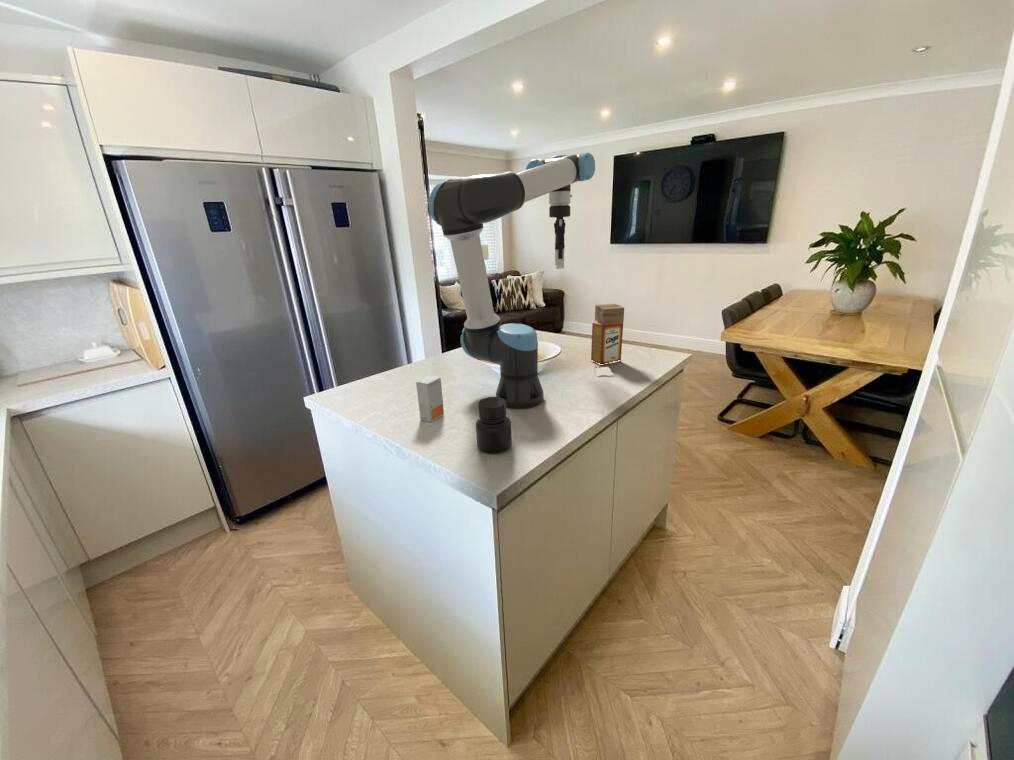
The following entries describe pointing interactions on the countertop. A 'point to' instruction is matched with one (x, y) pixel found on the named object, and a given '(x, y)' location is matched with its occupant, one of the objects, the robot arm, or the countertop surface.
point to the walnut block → (609, 314)
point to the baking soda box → (606, 342)
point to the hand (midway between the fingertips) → (559, 266)
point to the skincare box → (430, 398)
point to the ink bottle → (493, 426)
